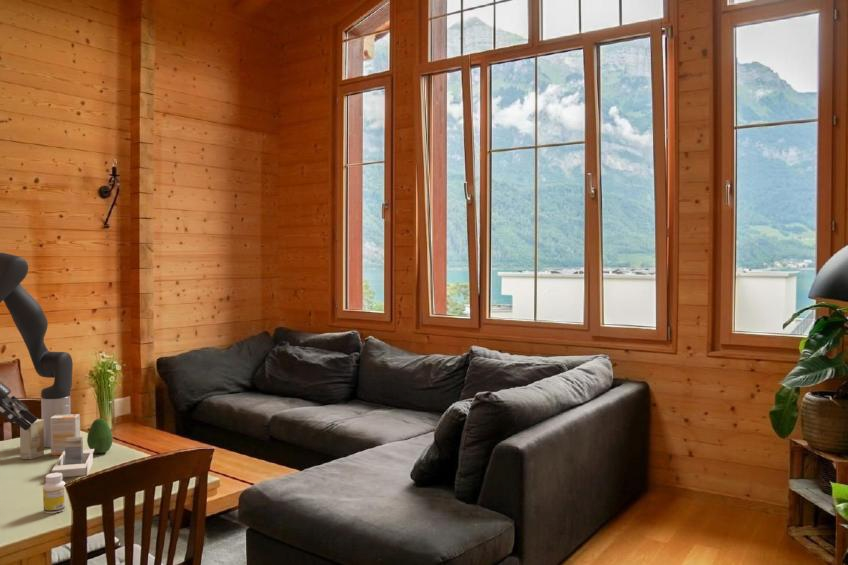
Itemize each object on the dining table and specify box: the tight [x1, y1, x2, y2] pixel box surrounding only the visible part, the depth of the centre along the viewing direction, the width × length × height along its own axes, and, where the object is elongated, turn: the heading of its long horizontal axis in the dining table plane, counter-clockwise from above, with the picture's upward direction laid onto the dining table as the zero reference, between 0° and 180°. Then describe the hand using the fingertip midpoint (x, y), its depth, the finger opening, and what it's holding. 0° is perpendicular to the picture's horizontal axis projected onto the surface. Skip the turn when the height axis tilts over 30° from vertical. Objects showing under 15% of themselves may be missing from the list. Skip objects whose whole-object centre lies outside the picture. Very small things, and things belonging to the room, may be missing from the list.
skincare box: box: [19, 418, 45, 460], centre depth 237 cm, size 6×4×12 cm
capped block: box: [65, 436, 84, 465], centre depth 223 cm, size 4×4×10 cm
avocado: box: [86, 418, 114, 454], centre depth 241 cm, size 8×8×12 cm
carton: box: [51, 448, 95, 478], centre depth 223 cm, size 21×9×4 cm, turn 18°
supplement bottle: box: [42, 472, 67, 514], centre depth 189 cm, size 5×5×10 cm
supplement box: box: [50, 413, 81, 456], centre depth 241 cm, size 8×5×13 cm, turn 97°
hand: (32, 424), depth 219 cm, fingers open, 8 cm apart
